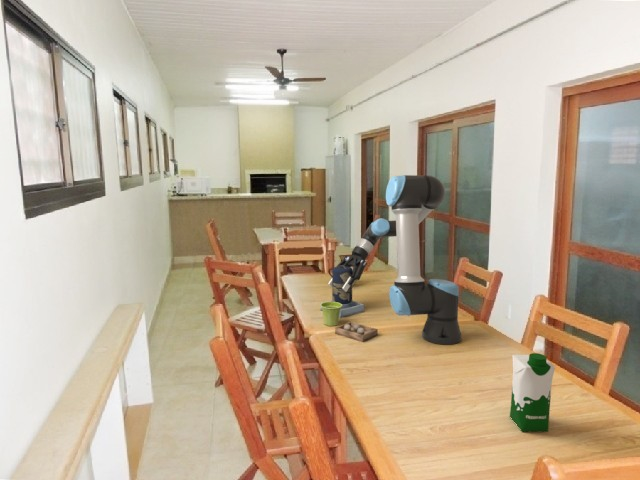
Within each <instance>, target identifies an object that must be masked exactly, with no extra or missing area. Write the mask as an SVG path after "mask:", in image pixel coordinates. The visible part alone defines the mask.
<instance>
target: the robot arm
mask: <svg viewBox="0 0 640 480" xmlns="http://www.w3.org/2000/svg"><path fill="white" fill-rule="evenodd" d="M445 198H446V188H445V186H444V184H443V183H442V181H441V180H440V179H438V178H437V177H435V176H432V175H426V174H425V175H415V174H408V175H407V174H406V175H405V174H404V175H395V176H392V177H391V178H390V179H389V181H388V183H387V185H386V189H385V201H386V205H388V206H389V207H391V212H392V213H393V214H394V215H395V220H387V219H385V218H383V217H382V218H381V217H380V218H378V219H376V220H374V221H372V222H371V224H369V226H368V227H367V229H366V231H364V233H363V235H362V236H361V238H360V239H359V240H358V242H357V243H356V245H355V246H354V248H353V249H352V251H351V255H350V256H348V255H344V257H343V259H342V260H341V261H340V262H339V263H338V264H337V265H336V266H335V267H337V266H341V265H343V266H347V267H353V272H352V275H351V277H352V278H351V277H349V279H348V280H347V282H346V283H345V285H344V286H343V288H342V289H343V290H344V291H345V292H347V290H348V289H349V287H350V286H351V285H352V284H353V282H354V281H355V280H357V281H359V280H360V279H361V277H362V275H363V273H362V272H364V270H365V268H366V266H367V265H368V263H367V261H366V260H367V258H368V256H369V255H370V254H371V252H372V251H373V249H374V248H375V246H376V244H377V243H378V242H379V240H380V239H382V238H384V237H385V238H386V237H387V238H389V237H393V238H394V237H396V257H397V258H396V259H397V261H396V263H397V277H396V278H395V279H394V283H393V284H394V285H391V286H390V287H389V291H388V293H389V295H388V297H389V301H390V304H391V307H392V309H393V312H394V313H395V314H396V315H398V316H406V317H407V316H408V317H410V316H419V315H421V316H422V315H426V316H427V317H426V321H425V323H424V326H423V328H422V330H421V332H422V333H421V336H422V338H423V339H424V340H425V341H427V342H430V343H432V344H435V345H436V344H437V345H443V346H444V345H445V346H446V345H455V344H458V343H460V342H461V341H462V332H461V329H460V325H459V321H458V315H459V302H460V301H459V299H460V291H459V286H458V284H457V283H455V282H453V281H450V280H446V279H440V278H431V279H428V281H427V283H426V282H425V279H424V278H423V277H422V276H421V258H420V257H421V255H420V233H419V231H420V230H419V229H420V227H419V225H420V223H422V222H423V221H424V220H425V219H426V217H427V216H428V215H429V214H430V213H431V212H432V211H433V210H436V209H438V208H439V207H440V206H441V205H442V204H443V202H444V200H445ZM348 263H349V264H348ZM425 283H426V284H425ZM328 285H329V286H330V288H332V278H331V279H330V280H329V282H328Z"/></svg>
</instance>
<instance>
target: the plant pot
mask: <svg viewBox="0 0 640 480" xmlns="http://www.w3.org/2000/svg"><path fill="white" fill-rule="evenodd" d="M323 302H324V303H323ZM323 302H321V303H322V304H321V307H322V311H321V312H322V317H323V318H322V319H323V324H324V325H325V326H327V327H334V326H337V325H338V326H339V320H340V318H339V314H340V310H341V307H342V304H341V303H338V302H327V301H323Z"/></svg>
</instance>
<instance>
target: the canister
mask: <svg viewBox="0 0 640 480" xmlns="http://www.w3.org/2000/svg"><path fill="white" fill-rule="evenodd" d="M336 266H337V265H336ZM336 266H334V267H332V268H333V269H332V270H331V275H332V277H331V279H332V287H331V291H332V292H331V298H332V299H331V301H333V302H338V303H341V304H349V303H351V302H352V301H353V286H352V285H351V286H350V287H349V289H348V290H347V292H345V291H344V290H343V289H342V288H343V286H344V285H345V283H346V282H347V280H348V279H349V277H351V275H352V268H351V267H352V266H351V267H347V266H343V265H341V266H337V267H336ZM351 278H352V277H351Z"/></svg>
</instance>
